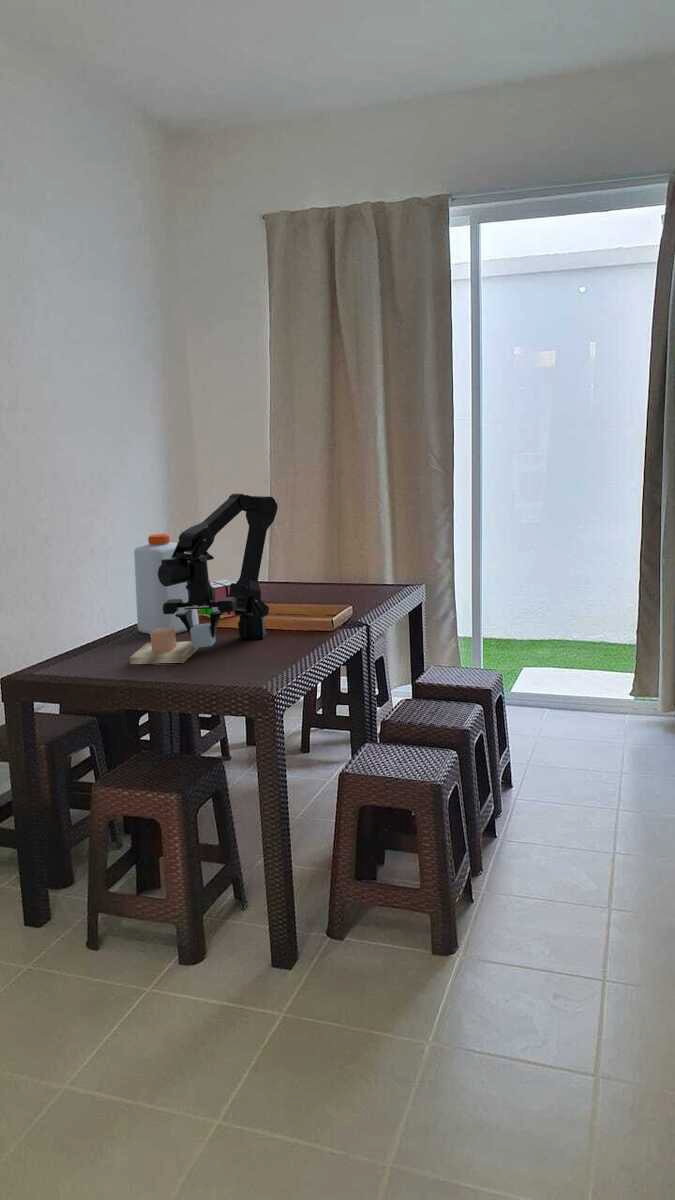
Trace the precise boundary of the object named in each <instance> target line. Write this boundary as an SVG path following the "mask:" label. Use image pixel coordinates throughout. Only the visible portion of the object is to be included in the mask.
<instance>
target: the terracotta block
mask: <svg viewBox="0 0 675 1200" xmlns="http://www.w3.org/2000/svg"><path fill="white" fill-rule="evenodd" d="M149 636H150V643H151V646H152V652H171V651H172V650H173V649H174V648H175V647H176V642H177V639H176V638H177V636H176V634H175V628H159V629H155V630H154V631H153V632H151V633H150V634H149Z"/></svg>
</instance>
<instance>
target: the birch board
mask: <svg viewBox="0 0 675 1200" xmlns="http://www.w3.org/2000/svg"><path fill="white" fill-rule="evenodd" d="M198 649H199V647H198V648H193V645H192V640H191V641H176V647H175V648H174V649H173V650H172V651H171V652H152V646H151V642H146V643H145V644H144V645H143V646H141V647H140V648H139V649H138V650H137V651H136V652H134V653H133V654H132V655H131V656H129V663H130V664H143V663H144V664H146V663H179V662H180V663H184V662H185V661H186V660H187V659H188V658H189V657H190V658H191V657H192V656H193V654H195V653H196V652H197V650H198ZM188 660H189V659H188ZM188 660H187V661H188ZM187 661H186V662H187ZM186 662H185V663H186ZM185 663H184V664H185Z"/></svg>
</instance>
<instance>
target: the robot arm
mask: <svg viewBox="0 0 675 1200" xmlns="http://www.w3.org/2000/svg"><path fill="white" fill-rule="evenodd" d="M278 507H279V506H278V503H277V501H276V499H275V498H274V497H272V496H269V495H267V496H264V495H263V496H260V495H253V496H252V495H249V494H245V493H232V494H231V495H229V496H228V498H227V499H226V500H225V501H224V502H223V503H222V504H221V505H220V506H218V508H217V509H215V510H214V511H212V513H211V514H209V516H208V517H206V519H204V520H203V521H201V522H200V523H198V524H195V525H193V526H190V527H188V528H187V529H185V530H183V531H182V532H181V533H180V534H179V536H178V541H177V543H178V544H177V546H176V548H175V550H174V553H173V555H172V558H171V559H163V560H161V561H162V565H160V567H159V570H158V578H159V581H160V583H161V584H162V585H163V586H165V587H167V586H172V585H176V584H180V583H184V582H187V585H186V589H187V590H188V602H183V600H182V599H169V600H168V601H167V602H165V603H164V604H163V614H175V612H176V615H175V617H179V618H180V619H181V621H182V622H183V624H184V625H185V627H186V628H187V630H188V631H187V632H188V633H189V635H190V636H191V633H190V629H191V628H192V627H193V622H192V610H189V609H197V610H200V609H212V610H213V612H212V613H211V614H210V618H209V619H210V623H211V634H212V638H214V637H215V636H216V633H217V628H218V624H219V620H220V619H219V618H220V615H222V614H223V613H224V612H233V611H234V613H235V615H238V616H239V620H238V622H237V624H238V625H237V626H238V635H239V640H240V641H241V640H244V641H245V640H263V639H264V638H265V636H266V635H267V634H268V631H266V624H265V623H266V622H265V617H267V616H268V615H269V612H270V607H269V606H268V605H267V604H266V603H265V602H264V601H262V590H261V587H260V584H259V576H260V570H261V564H262V559H263V554H264V549H265V543H266V537H267V531H268V529H269V528H270V526H271V525H272V524H273V522H275V519H276V515H277V512H278ZM242 511H243V512H245V518H246V521H247V524H248V532H247V536H246V541H245V548H244V553H243V559H242V564H241V568H240V569H241V570H240V575H239V578H238V580H237V581H235V582H236V583H231V585H230V593H229V595H228V597H222V598H221V599H220V600H219V601H211V600H216V588H214V587H212V586H211V585H210V582H211V580H210V577H209V568H208V561H211V560H212V561H213V560H214V559H215V558H214V556H213V555H212V554H210V553H209V552H208V550H209V549H210V548H211V546H213V544H214V541H215V537H216V536H217V534H218V533H219V532H221V530H223V529H224V528H225V527H226V526H227V525H228V524H229V523H230V522H231V521H232V520H233V519H234V518H236V517H237V516H238V515H239V514H240V513H241V512H242ZM184 552H186V553H184ZM194 605H196V606H194ZM204 605H205V606H204Z"/></svg>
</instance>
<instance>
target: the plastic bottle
mask: <svg viewBox="0 0 675 1200" xmlns="http://www.w3.org/2000/svg"><path fill="white" fill-rule="evenodd" d="M147 540H148V544H144V545H140V546H137V547H135V549H134V552H133V554H134V557H133V558H134V571H135V572H134V576H135V594H136V595H135V597H136V617H137V619H136V620H137V629H138V631H139V632H140V633H144V634H148V635H150V633H151V632H153V631H154V630H155V629H159V628H175V635H178V634H179V633H184V632H188V630H187V628H186V627H185V625H184V624H183V622H182V621H181V619H180V618H179V617H175V615H176V612H175V614H163V604H164V603H165V602H167V601H168V600H169V599H182V600H183V602H188V590H187V589H186V585H187V582H184V583H180V584H176V585H172V586H167V587H165V586H163V585H162V584H161V583H160V581H159V578H158V570H159V567H160V565H162V561H161V560H163V559H171V558H172V555H173V553H174V550H175V548H176V546H177V544H178V542H173V541H172V542H171V538H170V535H169V534H168V533H159V534H152V535H151V534H150V535H149V536H148V537H147ZM184 553H186V552H184ZM194 606H197V605H194ZM189 610H192V622H193V626H194V625H197V624H200V619H199V614H198V609H189Z"/></svg>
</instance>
